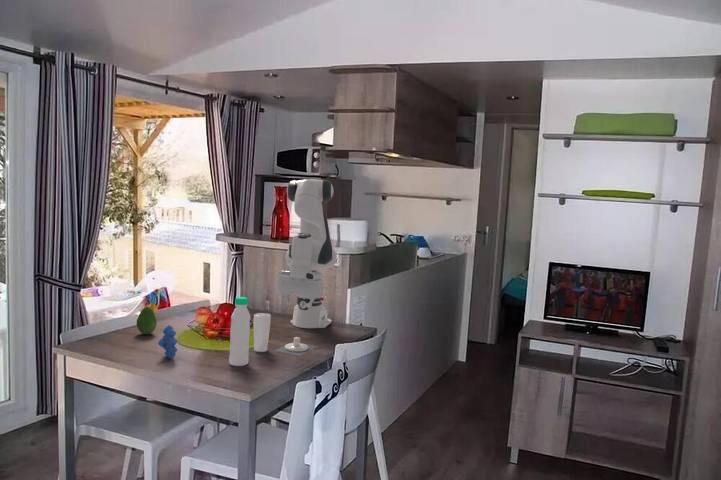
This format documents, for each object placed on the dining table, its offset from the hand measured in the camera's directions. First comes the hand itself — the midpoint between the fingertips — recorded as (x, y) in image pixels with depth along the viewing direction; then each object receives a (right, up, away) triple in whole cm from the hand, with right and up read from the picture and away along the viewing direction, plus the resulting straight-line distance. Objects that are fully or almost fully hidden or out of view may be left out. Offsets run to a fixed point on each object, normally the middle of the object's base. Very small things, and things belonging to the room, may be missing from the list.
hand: (298, 306), depth 225 cm
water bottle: (-20, -19, -21) cm, 35 cm away
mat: (-1, -18, +2) cm, 19 cm away
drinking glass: (-15, -18, -3) cm, 24 cm away
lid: (-1, -18, +2) cm, 18 cm away
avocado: (-67, -14, +10) cm, 69 cm away
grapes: (-48, -17, -19) cm, 54 cm away
